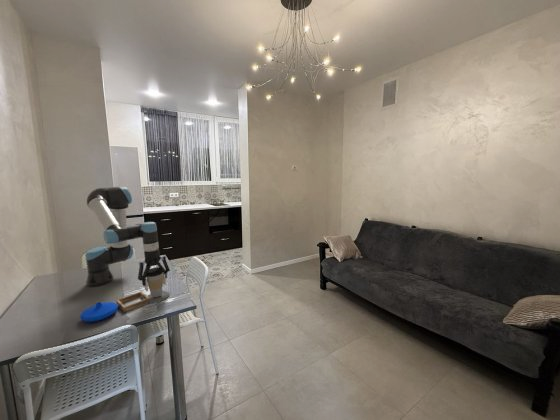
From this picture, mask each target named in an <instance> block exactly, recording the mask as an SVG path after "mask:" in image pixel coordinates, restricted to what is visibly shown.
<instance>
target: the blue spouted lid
mask: <svg viewBox="0 0 560 420" xmlns="http://www.w3.org/2000/svg"><path fill="white" fill-rule="evenodd" d="M118 308H119V306H118V305H117V303H116V302H113V301H107V302H97V303H95V304H94V305H92V306H90V307H87V308H86V309H84V310H83V311H82V312H81V313H80V316H79V318H80V319H81V321H83V322H86V323H87V322H98V321H102V320H104V319H107V318H108V317H110V316H111V315H113V314H115V313H116V312H117V311H118Z"/></svg>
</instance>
